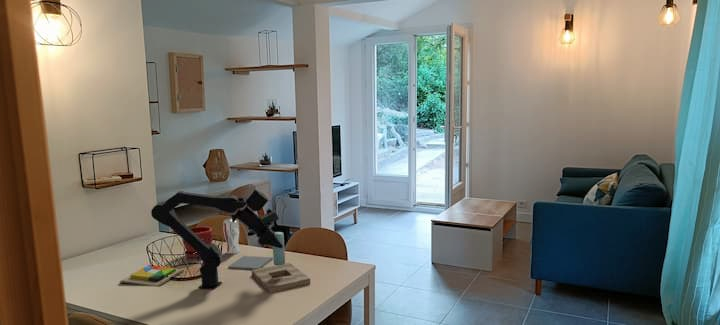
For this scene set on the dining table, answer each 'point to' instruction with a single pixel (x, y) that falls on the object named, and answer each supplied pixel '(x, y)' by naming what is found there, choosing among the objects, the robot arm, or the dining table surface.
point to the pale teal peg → (279, 250)
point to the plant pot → (202, 233)
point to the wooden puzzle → (152, 275)
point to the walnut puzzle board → (290, 281)
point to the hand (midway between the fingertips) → (282, 245)
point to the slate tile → (250, 262)
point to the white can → (231, 236)
